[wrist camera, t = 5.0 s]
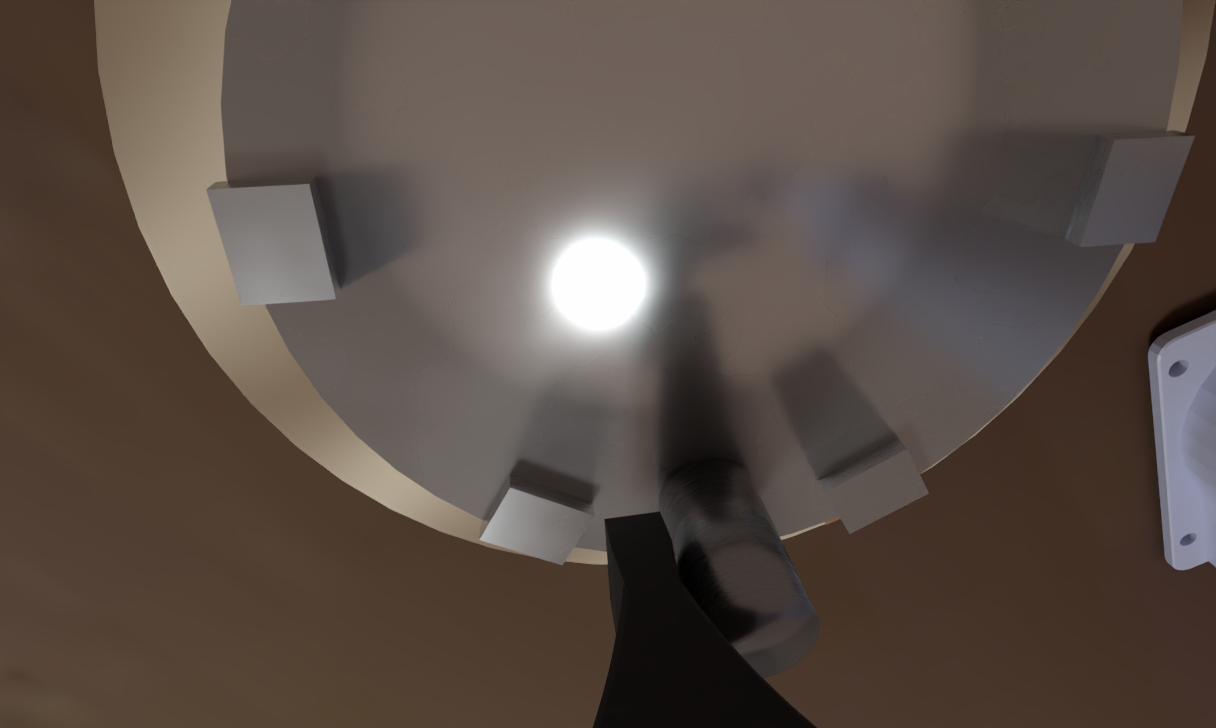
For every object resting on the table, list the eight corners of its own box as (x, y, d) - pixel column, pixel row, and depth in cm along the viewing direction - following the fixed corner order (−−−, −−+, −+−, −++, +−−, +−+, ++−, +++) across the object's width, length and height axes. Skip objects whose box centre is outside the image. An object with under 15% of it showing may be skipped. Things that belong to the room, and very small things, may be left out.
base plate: (1177, 319, 19) (1234, 350, 17) (500, 624, 21) (499, 674, 19) (1103, -984, 9) (1226, -1174, 7) (-163, -121, 11) (-265, -132, 10)
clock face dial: (1234, -373, 10) (1854, -648, 6) (983, 461, 18) (1157, 645, 13) (114, -395, 9) (-337, -799, 4) (355, 524, 16) (294, 757, 12)
